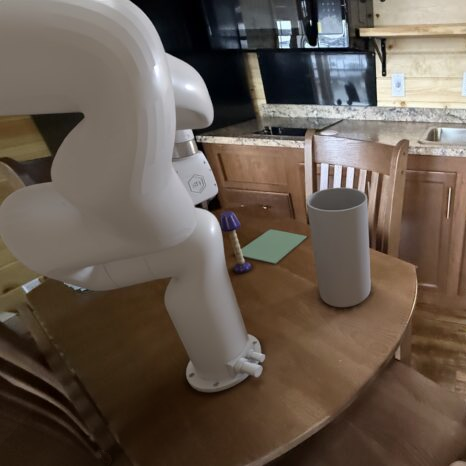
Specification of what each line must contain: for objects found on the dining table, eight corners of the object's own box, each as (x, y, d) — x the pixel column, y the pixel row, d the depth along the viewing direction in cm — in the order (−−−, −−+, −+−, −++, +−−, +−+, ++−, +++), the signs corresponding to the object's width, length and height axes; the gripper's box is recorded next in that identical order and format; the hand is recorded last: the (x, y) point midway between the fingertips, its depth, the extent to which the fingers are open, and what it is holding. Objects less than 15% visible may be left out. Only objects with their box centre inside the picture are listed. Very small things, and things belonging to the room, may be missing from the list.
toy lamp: (229, 271, 85) (211, 215, 76) (242, 262, 88) (226, 208, 80) (243, 274, 83) (227, 218, 75) (256, 265, 87) (241, 211, 79)
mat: (306, 237, 101) (306, 236, 101) (274, 264, 88) (274, 263, 87) (270, 230, 105) (270, 229, 104) (234, 255, 91) (234, 253, 91)
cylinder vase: (309, 299, 75) (293, 203, 63) (339, 271, 85) (330, 184, 73) (353, 315, 71) (345, 216, 58) (379, 284, 81) (377, 193, 68)
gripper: (153, 162, 56) (186, 248, 65) (219, 142, 68) (239, 217, 77) (123, 157, 58) (159, 242, 67) (193, 139, 70) (215, 212, 79)
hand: (202, 228), depth 72 cm, fingers closed
